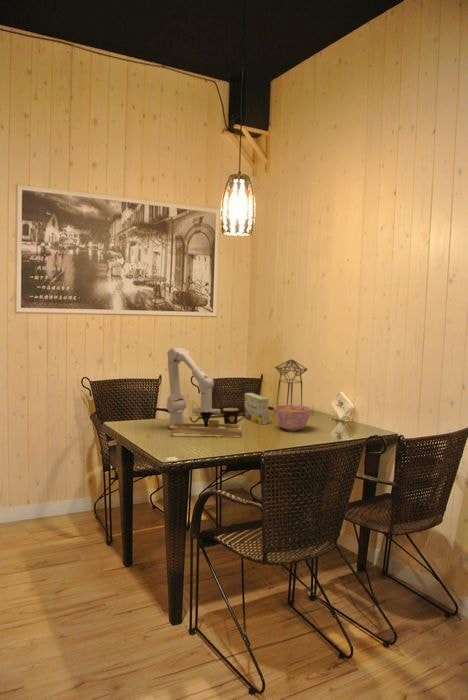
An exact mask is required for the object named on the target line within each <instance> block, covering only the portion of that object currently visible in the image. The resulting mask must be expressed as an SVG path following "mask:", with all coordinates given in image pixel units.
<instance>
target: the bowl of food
mask: <svg viewBox="0 0 468 700" xmlns="http://www.w3.org/2000/svg"><path fill="white" fill-rule="evenodd" d="M273 410H274V415H275V420H276V423H277V424H278V426H279V427H281V428H282V429H284V430H285V431H290V432H291V431H292V432H293V431H294V432H295V431H297V432H298V431H299V430H300V429H302V428H304V427H305V426H306V425H308V421H309V417H310V413H311V408H310V407H308V406H305V405H302V406H301V405H298V404H292V405H291V404H288V405H287V404H281V405H277V406H274V407H273Z"/></svg>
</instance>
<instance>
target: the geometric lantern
mask: <svg viewBox="0 0 468 700" xmlns="http://www.w3.org/2000/svg"><path fill="white" fill-rule="evenodd" d="M281 366H282V367H281ZM301 367H302V368H301ZM274 369H276V370H277V371H278V373H279V379H278V389H277V397H276V404H275V405H276V406H279V405H278V404H279V395H280V387H281V382H282V383H285V384H287V394H286V397H287V398H286V405H289V396H290V405H293V392H294V391H293V387H294V384H298V383H299V384H300V397H301V398H300V403H301V404H300V406H303V380H302V374H304V373H306V371H308V368H307V367H305V366H304V365H302V364H300V363H298V362H297V361H296V360H294V359H287V360H286V361H284V362H283V363H281V364H278V365H277V366H274ZM291 369H292V370H291ZM289 372H293V373H294V374H295V375H294V376H293V377H292V378H290V376H289V374H288V373H289ZM286 375H287V377H286ZM282 376H284V378H285V381H284V380H283V379H281V378H282ZM298 376H299V378H300V380H297V379H296V377H298ZM287 378H288V379H287ZM294 381H295V382H294ZM276 406H275V407H276Z"/></svg>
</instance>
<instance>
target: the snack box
mask: <svg viewBox="0 0 468 700" xmlns="http://www.w3.org/2000/svg"><path fill="white" fill-rule="evenodd" d="M244 413H245V416H244V418H245V419H247V420H249V421H251V420H252V422H253V421H254V422H253V423H255V422H256V423H255V424H257V425H260V424H261V425H260V426H262V424H264V425H269V397H265V396H262V395H260V394H256V393H253V392H246V393H244Z"/></svg>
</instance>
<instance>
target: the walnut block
mask: <svg viewBox="0 0 468 700" xmlns="http://www.w3.org/2000/svg"><path fill="white" fill-rule="evenodd" d="M219 421H220V420H218V419H216V420H214V419H209V421H208V424H209V428H219V424H220V422H219Z"/></svg>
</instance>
